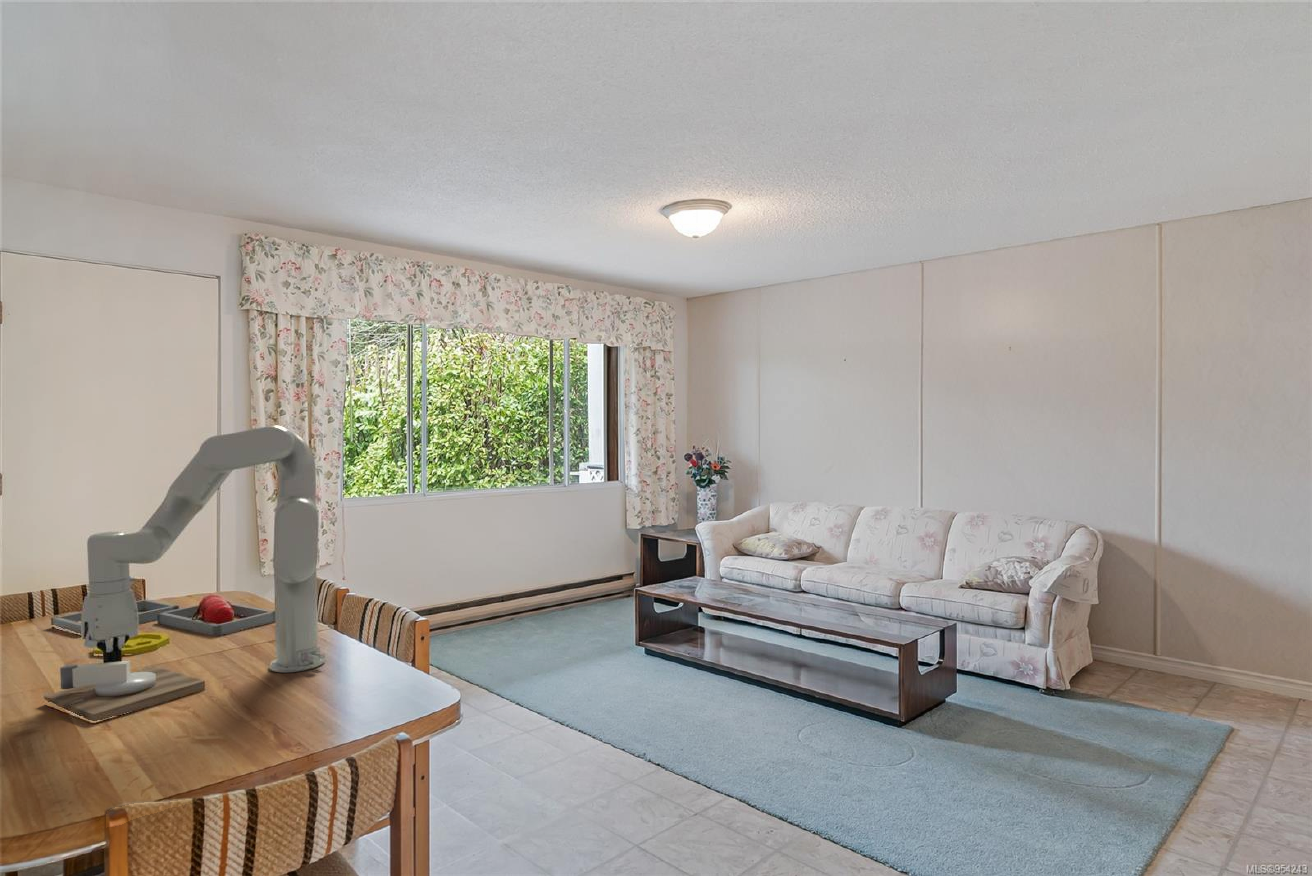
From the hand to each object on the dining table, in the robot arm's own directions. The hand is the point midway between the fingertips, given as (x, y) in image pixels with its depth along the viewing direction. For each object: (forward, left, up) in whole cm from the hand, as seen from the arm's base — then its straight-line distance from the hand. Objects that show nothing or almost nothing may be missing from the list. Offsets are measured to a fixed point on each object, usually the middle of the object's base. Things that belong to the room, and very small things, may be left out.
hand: (112, 667), depth 170 cm
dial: (-5, +3, -3) cm, 6 cm away
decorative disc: (+34, -19, -6) cm, 40 cm away
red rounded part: (+40, -44, -6) cm, 60 cm away
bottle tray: (+39, -45, -6) cm, 60 cm away
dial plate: (-7, +1, -6) cm, 9 cm away
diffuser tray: (+69, -31, -6) cm, 76 cm away
